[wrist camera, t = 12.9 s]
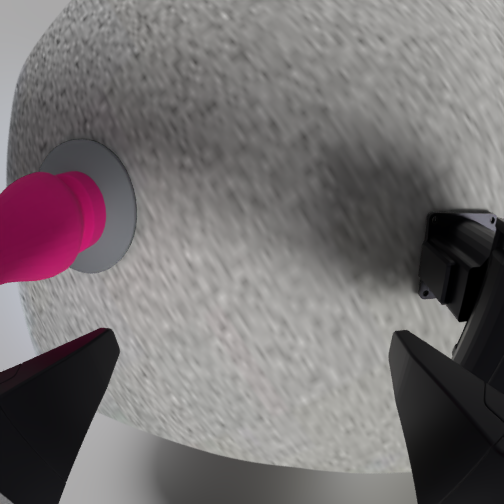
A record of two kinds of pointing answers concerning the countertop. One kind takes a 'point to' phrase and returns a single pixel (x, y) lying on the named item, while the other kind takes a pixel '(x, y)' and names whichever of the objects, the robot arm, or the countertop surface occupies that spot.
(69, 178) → the pepper mill
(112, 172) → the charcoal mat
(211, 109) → the countertop surface
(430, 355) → the robot arm
